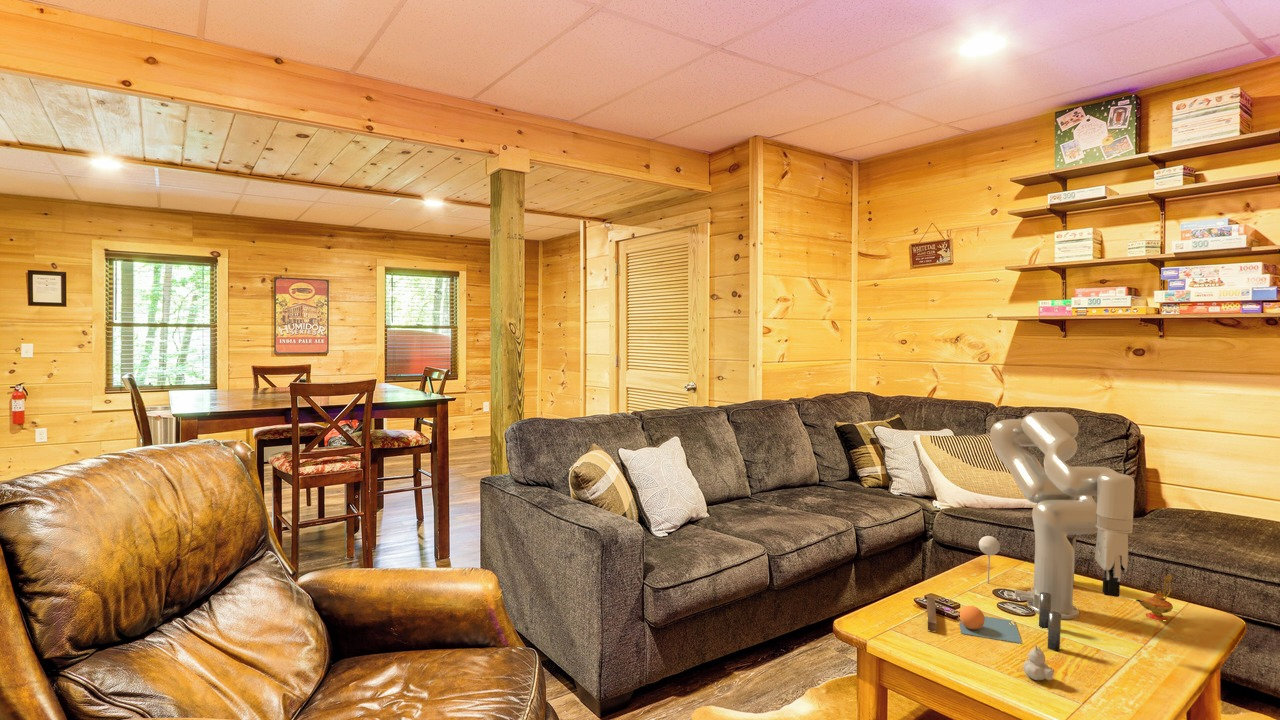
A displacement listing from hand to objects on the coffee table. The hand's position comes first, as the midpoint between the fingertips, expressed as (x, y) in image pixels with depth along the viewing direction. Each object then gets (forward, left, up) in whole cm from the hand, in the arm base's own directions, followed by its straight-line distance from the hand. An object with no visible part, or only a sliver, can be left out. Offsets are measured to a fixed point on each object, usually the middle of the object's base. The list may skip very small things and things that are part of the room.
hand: (1110, 594), depth 166 cm
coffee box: (-4, +45, -14) cm, 47 cm away
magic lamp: (+16, +25, -14) cm, 33 cm away
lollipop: (-24, +35, -14) cm, 45 cm away
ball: (-31, -3, -10) cm, 33 cm away
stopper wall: (-41, 0, -13) cm, 43 cm away
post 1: (-13, +6, -13) cm, 20 cm away
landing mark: (-27, 0, -13) cm, 30 cm away
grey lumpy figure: (-19, -25, -14) cm, 34 cm away
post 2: (-13, -7, -13) cm, 20 cm away
